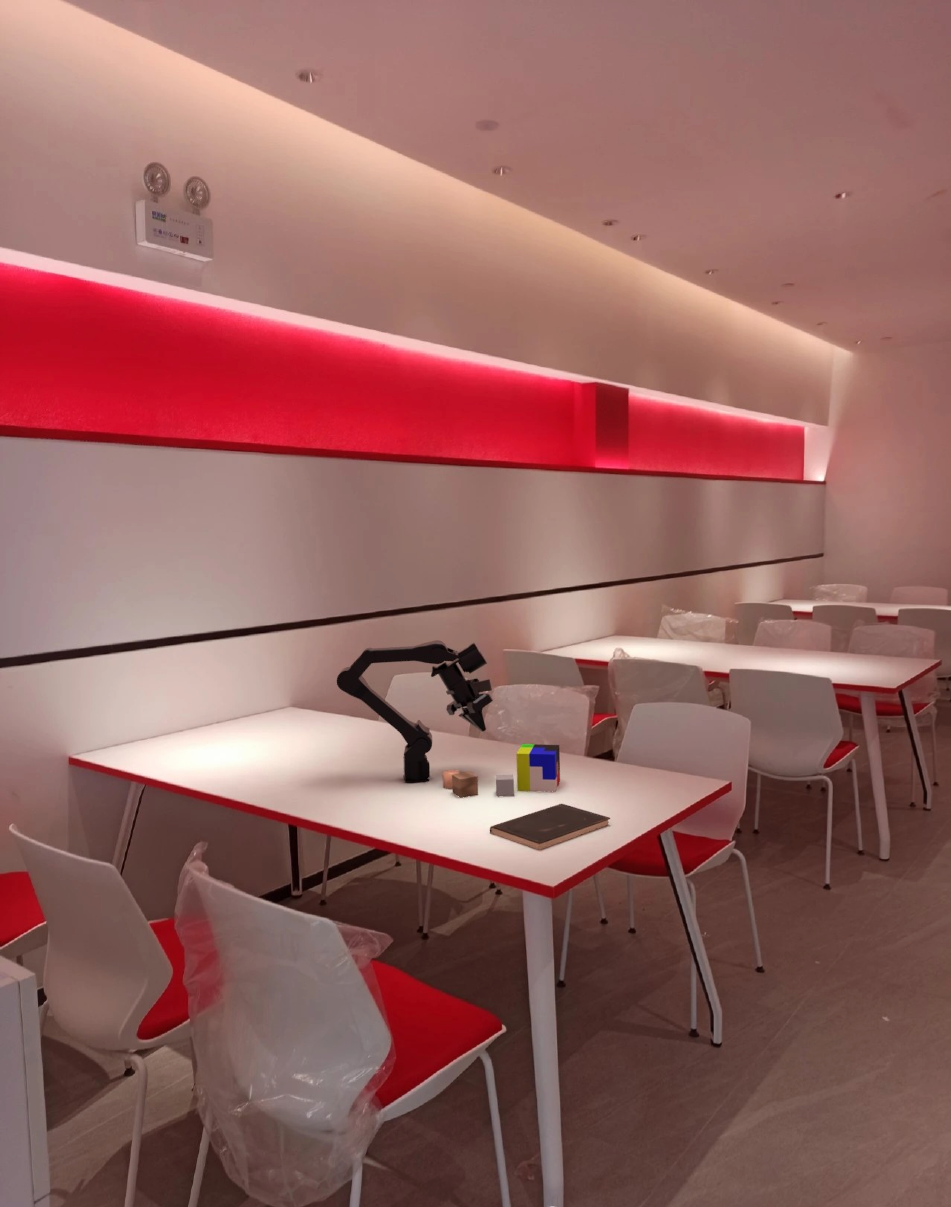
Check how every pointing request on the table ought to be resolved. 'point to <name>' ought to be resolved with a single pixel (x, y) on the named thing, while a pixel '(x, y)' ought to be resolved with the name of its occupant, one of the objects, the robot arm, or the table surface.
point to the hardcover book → (549, 826)
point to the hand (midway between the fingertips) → (484, 730)
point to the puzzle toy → (538, 768)
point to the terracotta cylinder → (448, 778)
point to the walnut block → (465, 784)
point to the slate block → (504, 785)
